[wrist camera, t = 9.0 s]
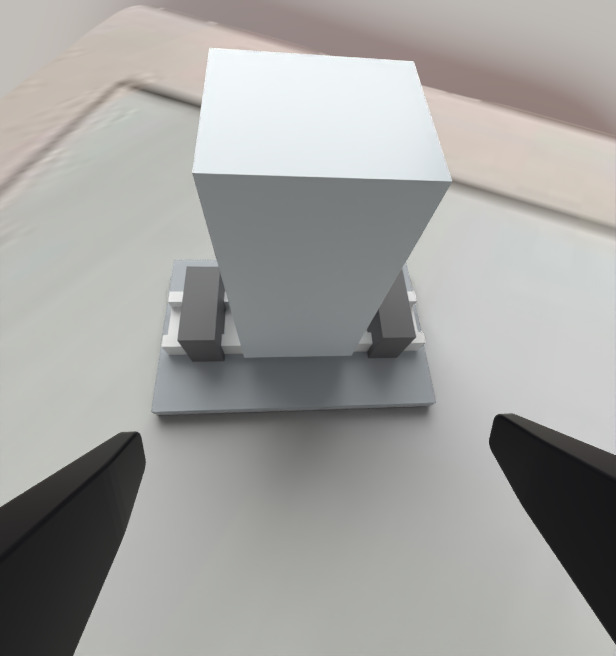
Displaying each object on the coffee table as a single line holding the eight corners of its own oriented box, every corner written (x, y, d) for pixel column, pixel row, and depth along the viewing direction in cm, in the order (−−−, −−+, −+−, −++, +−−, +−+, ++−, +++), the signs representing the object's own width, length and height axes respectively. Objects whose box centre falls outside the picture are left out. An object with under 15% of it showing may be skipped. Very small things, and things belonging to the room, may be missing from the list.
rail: (401, 269, 24) (424, 230, 21) (428, 406, 20) (463, 388, 16) (177, 268, 23) (157, 225, 19) (157, 415, 19) (126, 398, 15)
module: (351, 355, 19) (452, 180, 8) (244, 357, 18) (192, 173, 7) (342, 272, 21) (410, 50, 10) (247, 272, 20) (210, 36, 10)
